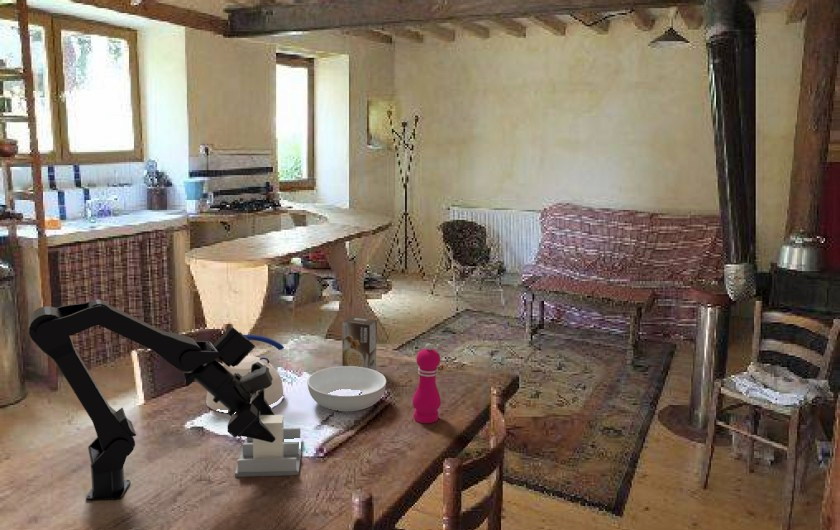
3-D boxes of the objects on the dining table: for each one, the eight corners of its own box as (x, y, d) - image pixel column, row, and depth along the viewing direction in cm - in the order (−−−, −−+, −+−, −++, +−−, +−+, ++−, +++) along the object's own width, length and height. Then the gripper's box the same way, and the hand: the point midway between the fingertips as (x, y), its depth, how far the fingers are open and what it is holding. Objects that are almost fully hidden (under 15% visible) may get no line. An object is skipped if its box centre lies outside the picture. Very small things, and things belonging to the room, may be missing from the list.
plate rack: (298, 474, 137) (298, 459, 136) (234, 476, 135) (234, 461, 134) (302, 441, 152) (302, 427, 151) (245, 442, 150) (245, 428, 149)
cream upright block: (282, 466, 138) (282, 422, 136) (253, 467, 137) (252, 423, 135) (283, 457, 142) (283, 414, 140) (255, 458, 141) (254, 415, 139)
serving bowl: (294, 414, 166) (294, 389, 165) (325, 385, 186) (325, 362, 185) (371, 425, 161) (372, 399, 160) (395, 394, 181) (395, 370, 180)
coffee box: (377, 370, 199) (378, 319, 196) (369, 377, 193) (370, 325, 190) (349, 366, 202) (350, 316, 199) (341, 372, 196) (341, 321, 193)
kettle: (202, 389, 180) (201, 326, 176) (278, 382, 187) (278, 321, 184) (206, 419, 161) (204, 350, 158) (290, 410, 169) (290, 343, 165)
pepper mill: (406, 420, 165) (409, 344, 161) (420, 410, 171) (422, 337, 167) (432, 426, 162) (435, 350, 158) (444, 416, 168) (448, 342, 164)
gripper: (243, 372, 125) (301, 424, 129) (252, 342, 143) (303, 388, 147) (202, 412, 126) (261, 462, 130) (216, 376, 144) (268, 421, 148)
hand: (275, 430), depth 139 cm, fingers open, 9 cm apart
